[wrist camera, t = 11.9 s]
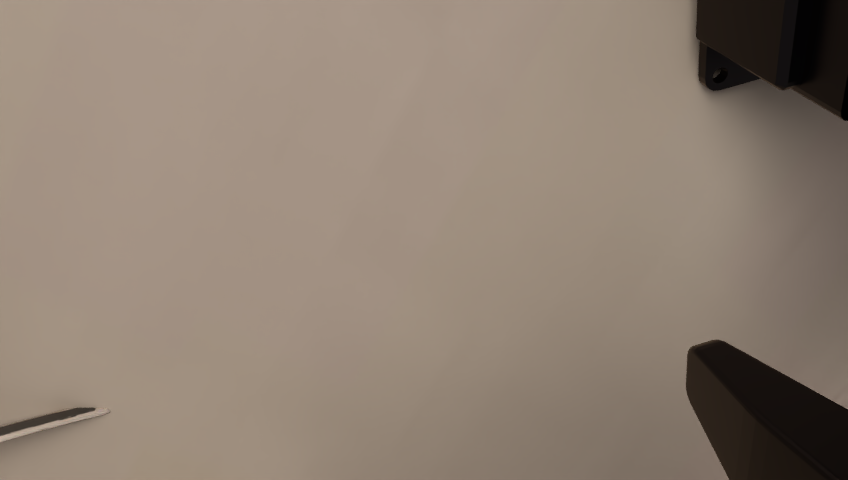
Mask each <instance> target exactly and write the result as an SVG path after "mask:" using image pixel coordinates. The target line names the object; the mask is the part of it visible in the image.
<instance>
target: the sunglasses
mask: <svg viewBox="0 0 848 480" xmlns="http://www.w3.org/2000/svg"><path fill="white" fill-rule="evenodd" d="M109 412H110V410H109V409H104V408H71V409H65V410H61V411H58V412H54V413H50V414H46V415H42V416H38V417H34V418H31V419H27V420H23V421H19V422H15V423H11V424H7V425H4V426H0V443H1V442H4V441H7V440H10V439H14V438H17V437H21V436H24V435H28V434H32V433H35V432H39V431H43V430H47V429H50V428H54V427H58V426H61V425H65V424H69V423H72V422H76V421H80V420H84V419H88V418H92V417H96V416H100V415H104V414H107V413H109Z"/></svg>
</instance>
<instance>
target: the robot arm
mask: <svg viewBox="0 0 848 480" xmlns="http://www.w3.org/2000/svg"><path fill="white" fill-rule="evenodd" d="M696 37H697V39H698V40H700V50H699V73H698V76H699V81H700V82H701V83H702V84H703V85H704V86H706V87H707V88H708V89H711V90H713V91H715V90H722V89H725V88H729V87H732V86H736V85H739V84H743V83H746V82H750V81H754V80H757V79H763V80H764V81H766V82H768V83H769V84H771V85H773V86H774V87H776V88H778V89H779V90H786V89H789V88H791V89H792V90H794V91H796V92H797V93H799V94H801V95H802V96H804V97H806V98H807V99H809V100H811V101H813V102H814V103H816V104H818V105H819V106H821V107H823V108H824V109H826V110H828V111H829V112H831V113H833V114H834V115H836V116H838V117H840V118H841V119H843V120H845V121H848V0H697V25H696ZM719 68H721V71H720V73H719V74H718V76H717V77H715V78H712V77H713V74H714V73H715V71H716V70H717V69H719ZM686 390H687V395H688V398H689V401H690V403H691V405H692V407H693V409H694V411H695V413H696V415H697V417H698V419H699V421H700V423H701V425H702V427H703V429H704V431H705V433H706V435H707V437H708V439H709V441H710V443H711V445H712V447H713V449H714V451H715V452H716V454H717V456H718V458H719V460H720V462H721V464H722V466H723V468H724V470H725V472H726V474H727V476H728V478H729V480H848V409H846V408H844V407H842V406H840V405H838V404H837V403H835V402H833V401H831V400H829V399H828V398H826V397H824V396H822V395H820V394H819V393H817V392H815V391H813V390H811V389H810V388H808V387H806V386H804V385H802V384H800V383H799V382H797V381H795V380H793V379H791V378H790V377H788V376H786V375H784V374H782V373H781V372H779V371H777V370H775V369H773V368H772V367H770V366H768V365H766V364H764V363H762V362H761V361H759V360H757V359H755V358H753V357H752V356H750V355H748V354H746V353H744V352H743V351H741V350H739V349H737V348H735V347H734V346H732V345H730V344H728V343H726V342H724V341H721V340H711V341H708V342H705V343H701V344H698V345H695V346H692V347H691V348H690V349H689V351H688V354H687V374H686Z"/></svg>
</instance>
